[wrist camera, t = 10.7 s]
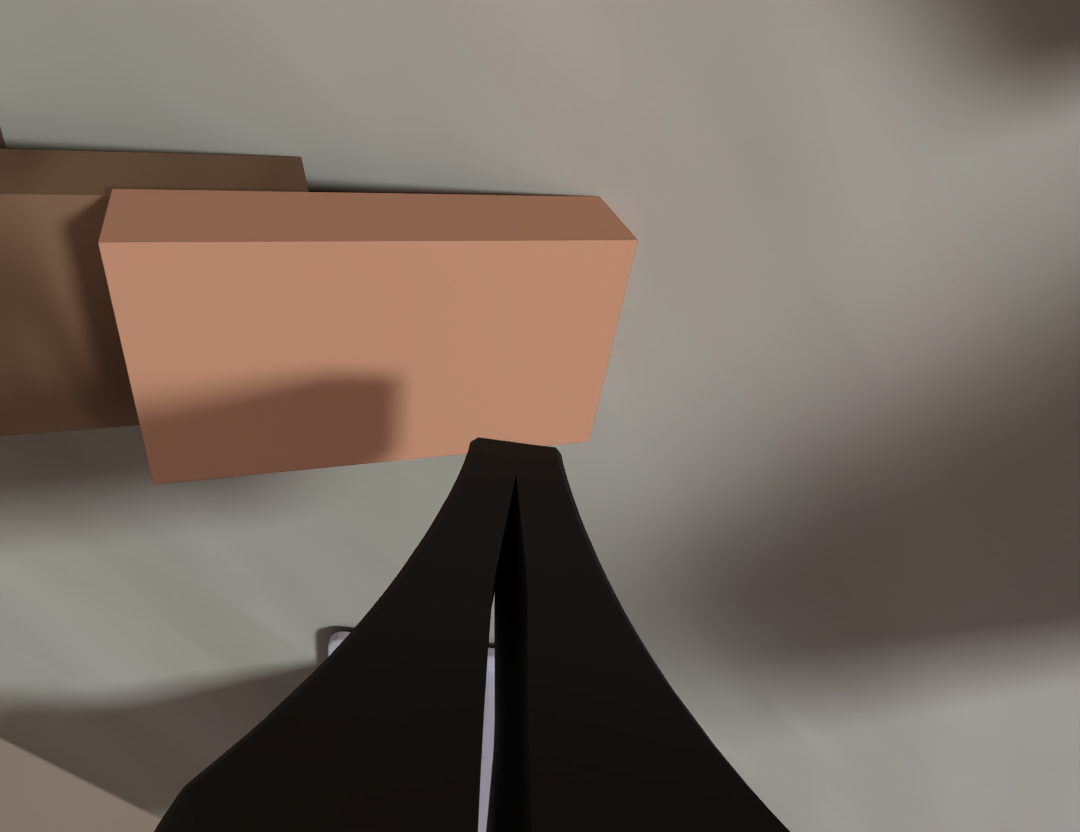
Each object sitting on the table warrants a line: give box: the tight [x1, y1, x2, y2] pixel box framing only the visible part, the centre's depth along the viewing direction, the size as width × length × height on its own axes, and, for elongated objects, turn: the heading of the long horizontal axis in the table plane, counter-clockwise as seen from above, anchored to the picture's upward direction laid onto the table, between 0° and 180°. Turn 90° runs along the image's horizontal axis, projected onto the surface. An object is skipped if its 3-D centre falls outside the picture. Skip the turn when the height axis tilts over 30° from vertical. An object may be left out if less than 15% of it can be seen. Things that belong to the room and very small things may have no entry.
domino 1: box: [0, 149, 309, 436], centre depth 15 cm, size 5×2×9 cm
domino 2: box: [98, 189, 638, 484], centre depth 15 cm, size 5×2×9 cm
